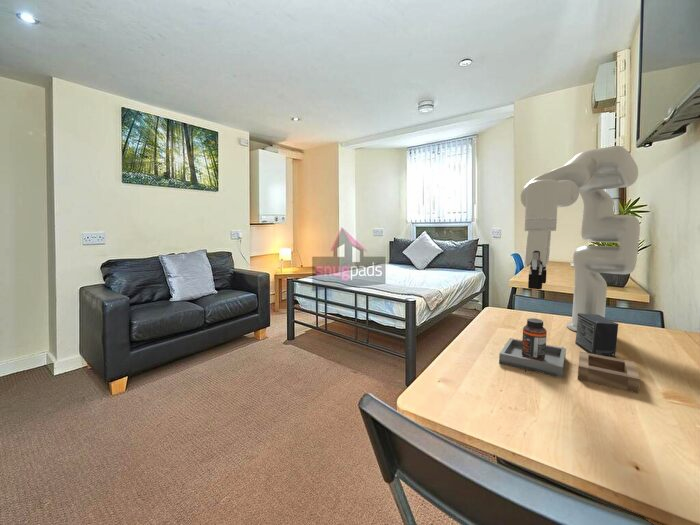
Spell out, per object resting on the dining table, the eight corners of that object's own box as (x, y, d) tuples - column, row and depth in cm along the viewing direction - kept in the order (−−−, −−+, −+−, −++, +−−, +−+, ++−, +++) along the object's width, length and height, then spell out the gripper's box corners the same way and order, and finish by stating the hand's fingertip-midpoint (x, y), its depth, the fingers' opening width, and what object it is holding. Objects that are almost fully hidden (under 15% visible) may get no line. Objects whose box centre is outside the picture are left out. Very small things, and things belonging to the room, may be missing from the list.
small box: (617, 357, 91) (620, 323, 89) (592, 356, 92) (595, 322, 91) (596, 344, 101) (599, 313, 100) (574, 343, 102) (576, 312, 101)
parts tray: (509, 346, 100) (510, 337, 100) (565, 358, 91) (565, 348, 91) (499, 363, 88) (499, 353, 88) (561, 378, 79) (562, 367, 79)
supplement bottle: (516, 353, 92) (518, 317, 91) (535, 352, 93) (537, 316, 91) (530, 362, 86) (532, 323, 85) (550, 361, 87) (552, 322, 85)
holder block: (578, 363, 88) (579, 351, 87) (633, 374, 81) (634, 361, 80) (577, 379, 79) (578, 366, 78) (638, 393, 72) (639, 379, 71)
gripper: (529, 225, 94) (527, 279, 96) (519, 226, 81) (517, 290, 83) (558, 224, 90) (555, 281, 92) (553, 226, 76) (549, 293, 78)
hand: (537, 285), depth 87 cm, fingers open, 9 cm apart
